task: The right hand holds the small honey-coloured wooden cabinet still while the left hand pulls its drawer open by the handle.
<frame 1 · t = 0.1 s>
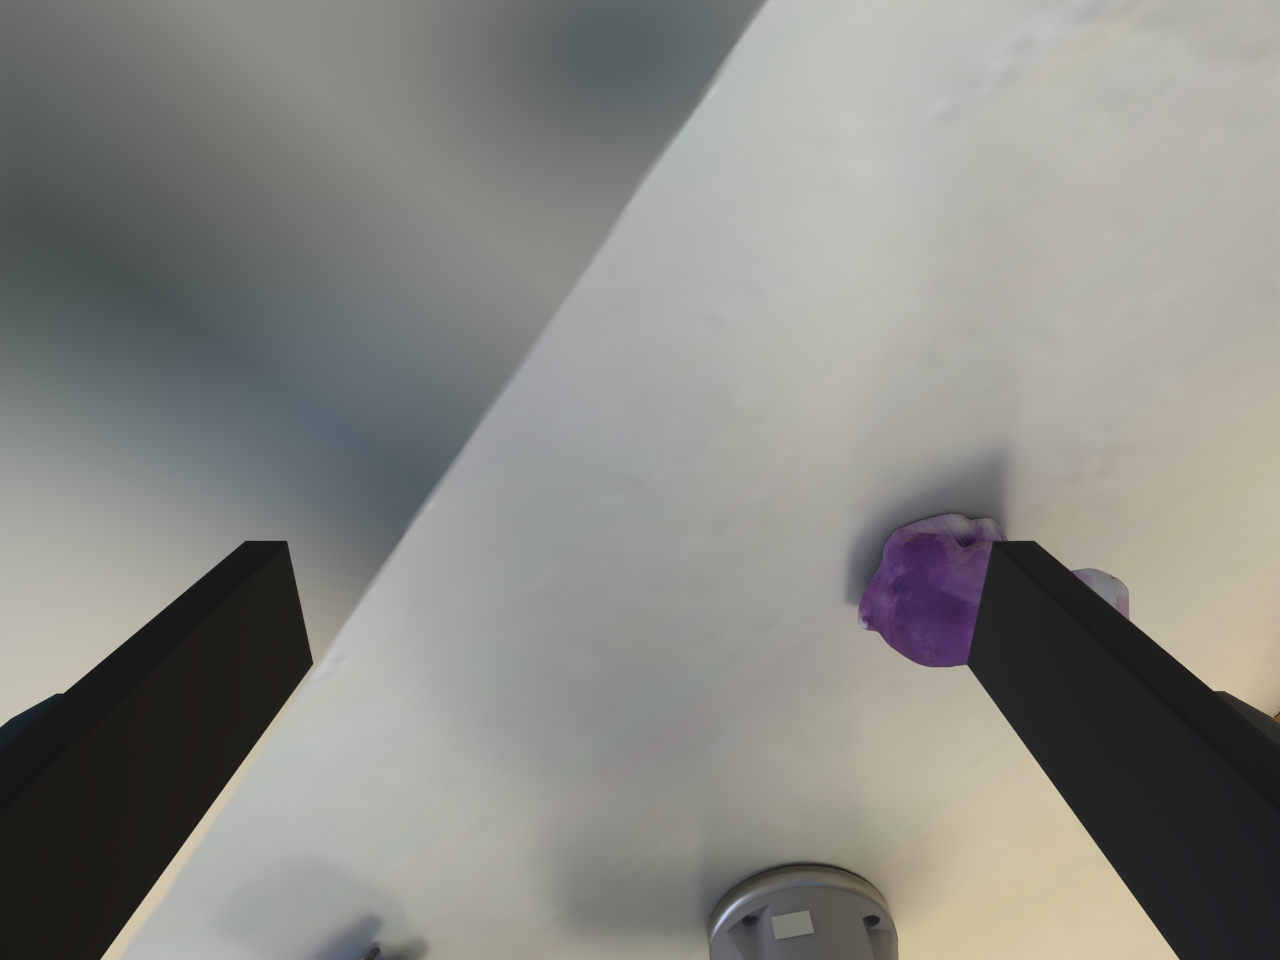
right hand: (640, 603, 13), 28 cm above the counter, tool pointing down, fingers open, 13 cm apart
figurine: (936, 559, 44), on the counter
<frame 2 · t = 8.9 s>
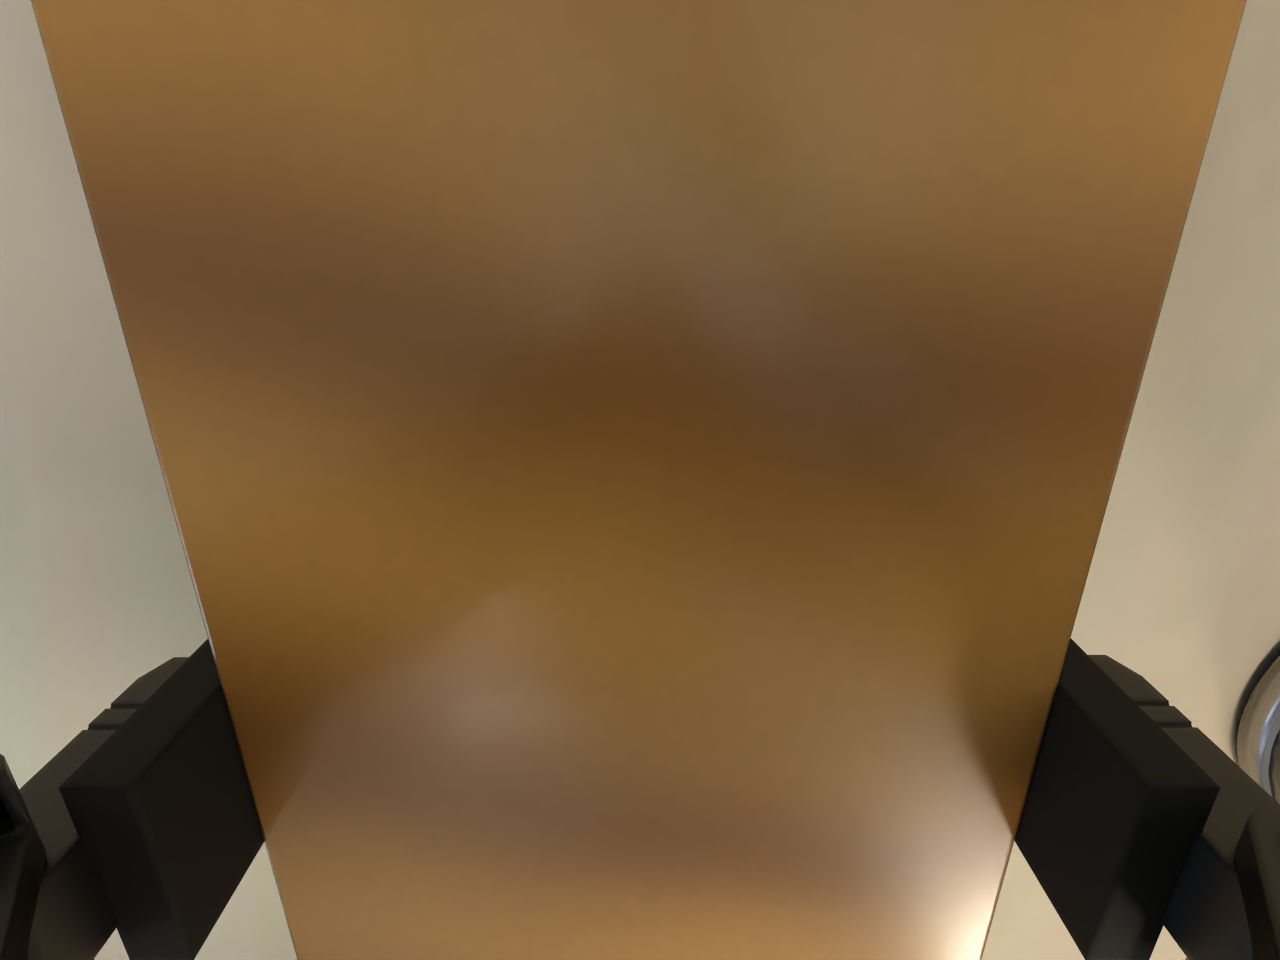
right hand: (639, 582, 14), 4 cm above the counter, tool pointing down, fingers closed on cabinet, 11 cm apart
cabinet: (639, 263, 15), on the counter, touching right hand
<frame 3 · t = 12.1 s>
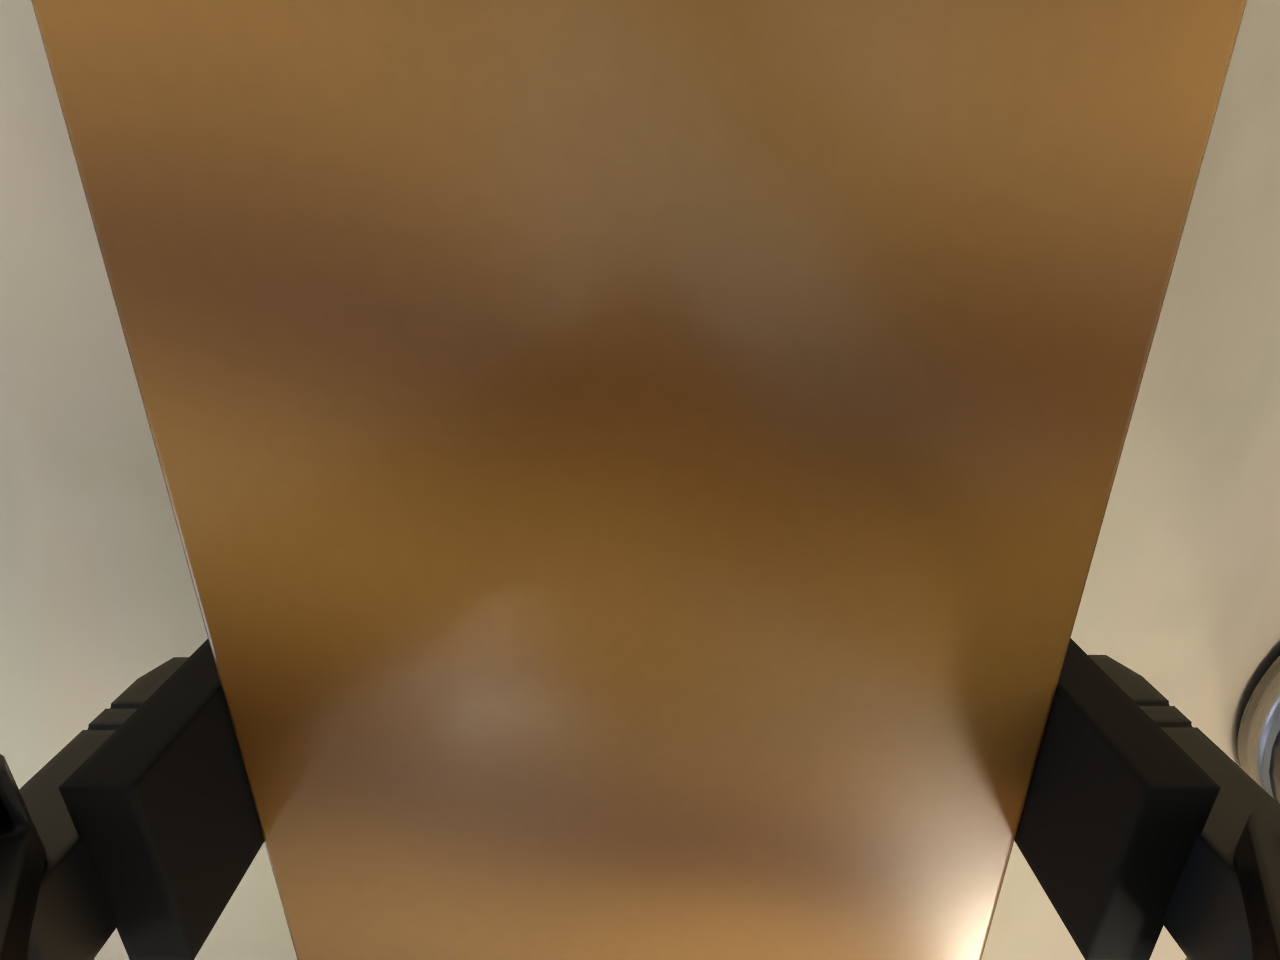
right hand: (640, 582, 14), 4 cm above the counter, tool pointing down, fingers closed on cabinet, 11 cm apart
cabinet: (639, 263, 15), on the counter, touching right hand
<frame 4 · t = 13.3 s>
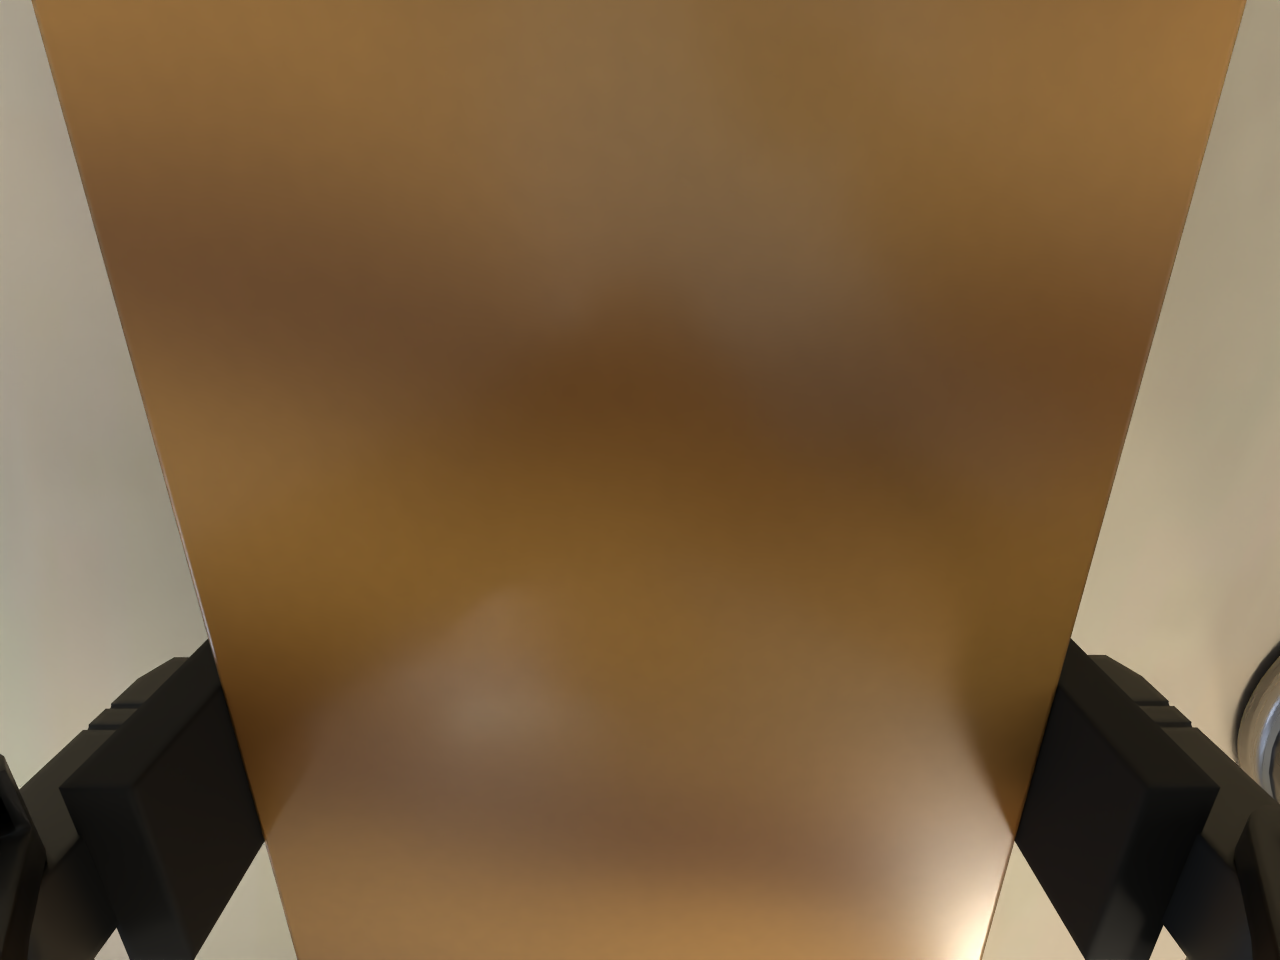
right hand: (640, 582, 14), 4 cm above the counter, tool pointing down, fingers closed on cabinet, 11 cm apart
cabinet: (639, 263, 15), on the counter, touching right hand
when the right hand's fingers open (4 cm above the counter, at t = 15.1 s): cabinet stays where it is, on the counter.
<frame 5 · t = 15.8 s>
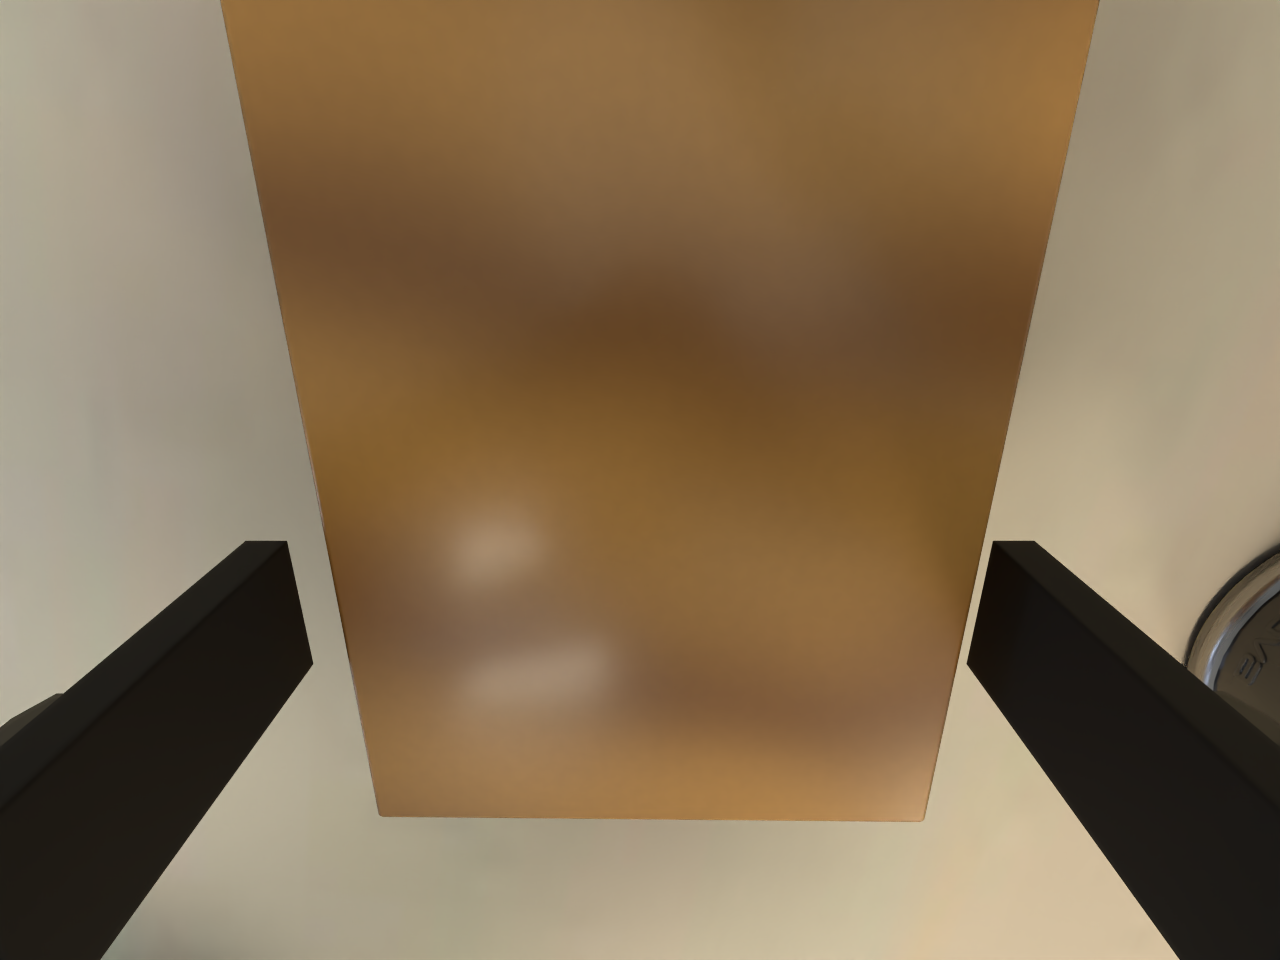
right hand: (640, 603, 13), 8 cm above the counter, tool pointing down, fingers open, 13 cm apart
cabinet: (651, 243, 18), on the counter
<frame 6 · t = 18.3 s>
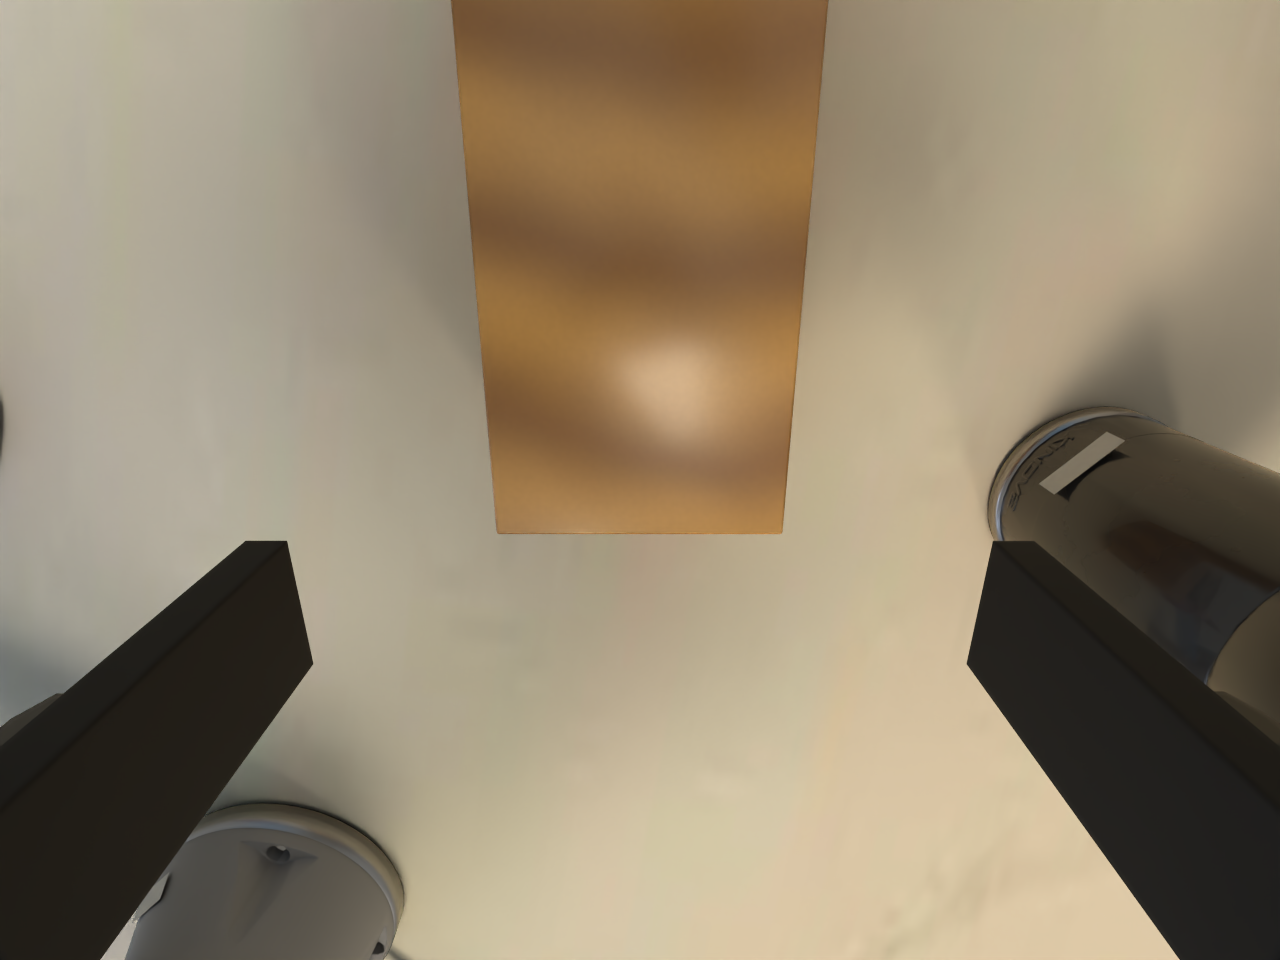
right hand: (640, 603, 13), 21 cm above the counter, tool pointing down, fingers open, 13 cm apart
cabinet: (639, 235, 30), on the counter
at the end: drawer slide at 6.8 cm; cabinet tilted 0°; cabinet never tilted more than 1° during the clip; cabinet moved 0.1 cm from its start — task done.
